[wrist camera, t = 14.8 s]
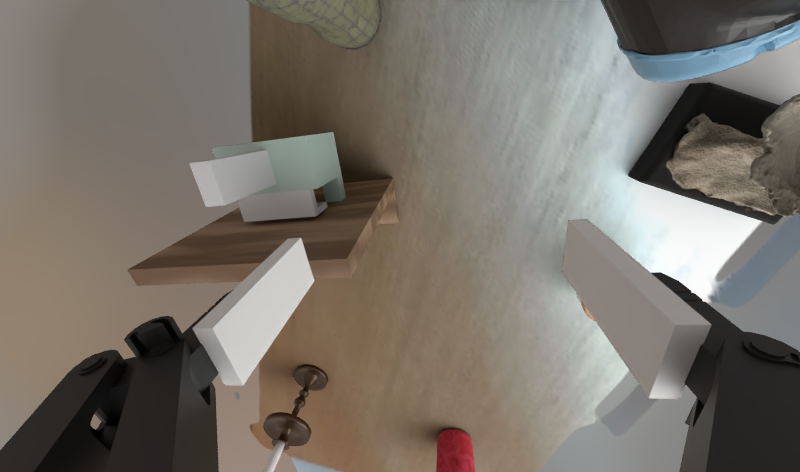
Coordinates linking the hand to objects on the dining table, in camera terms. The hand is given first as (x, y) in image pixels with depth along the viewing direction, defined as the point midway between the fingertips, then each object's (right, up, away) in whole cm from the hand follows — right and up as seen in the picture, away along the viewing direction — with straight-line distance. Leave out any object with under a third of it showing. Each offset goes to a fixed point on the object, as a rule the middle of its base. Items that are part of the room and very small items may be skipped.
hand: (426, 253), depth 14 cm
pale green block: (-16, +11, +28) cm, 34 cm away
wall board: (-14, +9, +39) cm, 42 cm away
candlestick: (-25, -37, +63) cm, 78 cm away
